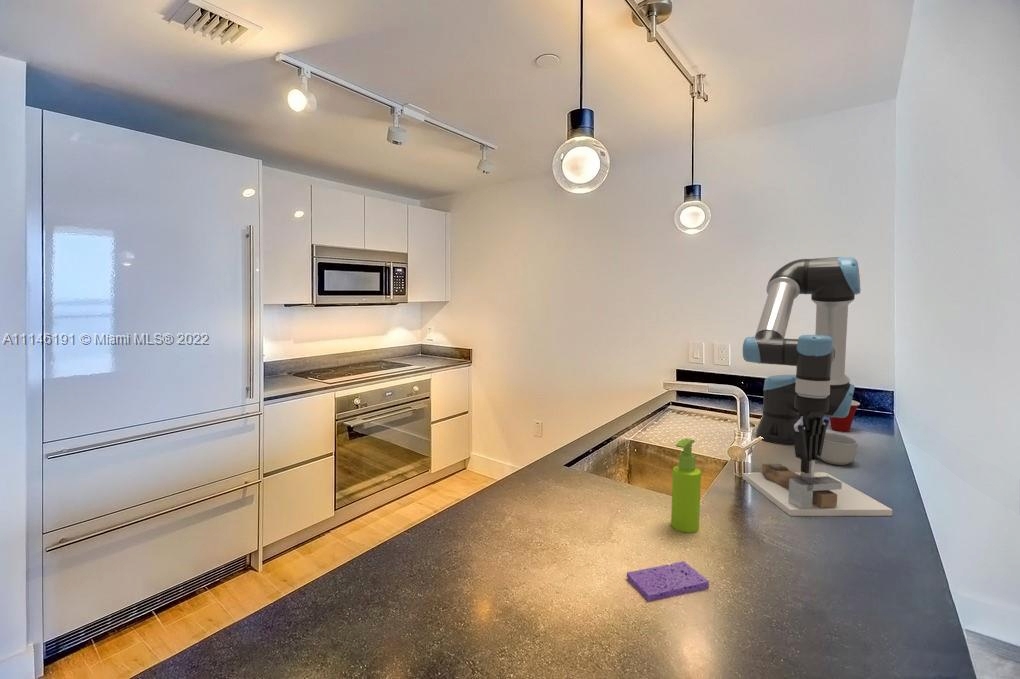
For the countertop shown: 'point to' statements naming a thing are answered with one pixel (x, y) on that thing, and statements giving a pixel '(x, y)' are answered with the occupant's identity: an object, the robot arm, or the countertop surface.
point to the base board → (847, 505)
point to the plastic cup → (844, 419)
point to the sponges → (667, 580)
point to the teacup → (838, 449)
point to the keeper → (809, 489)
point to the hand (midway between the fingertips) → (806, 483)
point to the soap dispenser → (686, 490)
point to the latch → (783, 475)
